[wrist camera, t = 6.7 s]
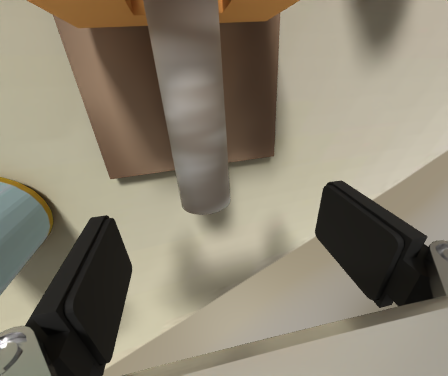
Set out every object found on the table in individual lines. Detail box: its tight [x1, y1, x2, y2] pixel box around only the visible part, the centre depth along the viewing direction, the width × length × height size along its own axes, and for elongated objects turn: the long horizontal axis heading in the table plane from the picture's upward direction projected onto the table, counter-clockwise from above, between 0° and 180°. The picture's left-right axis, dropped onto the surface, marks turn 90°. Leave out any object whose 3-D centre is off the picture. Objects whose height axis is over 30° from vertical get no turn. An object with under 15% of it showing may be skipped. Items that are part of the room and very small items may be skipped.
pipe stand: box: [53, 0, 280, 215], centre depth 10 cm, size 14×20×10 cm
